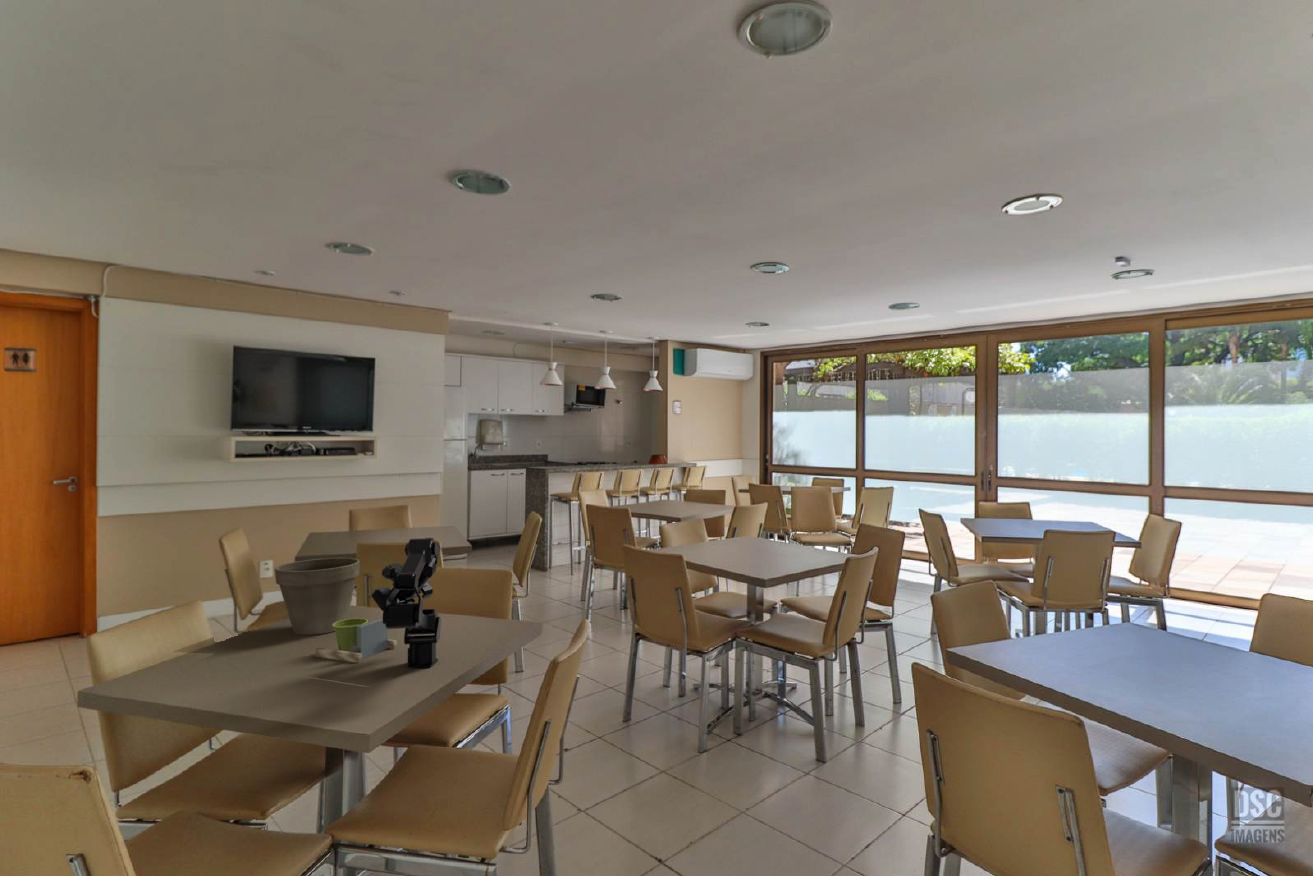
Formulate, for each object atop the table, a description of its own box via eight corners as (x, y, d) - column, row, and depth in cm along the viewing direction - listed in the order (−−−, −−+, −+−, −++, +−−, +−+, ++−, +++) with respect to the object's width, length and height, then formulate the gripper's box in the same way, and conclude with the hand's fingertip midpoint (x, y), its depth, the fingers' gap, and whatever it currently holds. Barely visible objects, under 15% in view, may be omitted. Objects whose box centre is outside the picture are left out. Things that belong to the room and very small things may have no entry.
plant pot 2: (358, 657, 187) (358, 626, 187) (326, 657, 187) (326, 626, 187) (373, 647, 196) (373, 618, 196) (342, 647, 196) (342, 618, 196)
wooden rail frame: (397, 648, 194) (397, 640, 194) (358, 663, 181) (358, 654, 181) (355, 643, 200) (355, 635, 200) (315, 657, 187) (315, 648, 187)
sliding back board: (387, 649, 193) (387, 618, 193) (360, 659, 183) (360, 627, 184) (377, 648, 194) (377, 617, 194) (350, 658, 185) (350, 626, 185)
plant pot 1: (255, 638, 206) (256, 569, 206) (308, 618, 230) (308, 556, 230) (329, 641, 202) (329, 571, 202) (374, 620, 226) (374, 557, 227)
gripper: (424, 549, 194) (395, 584, 198) (376, 560, 176) (345, 598, 180) (446, 578, 191) (416, 613, 195) (400, 591, 173) (367, 629, 177)
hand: (387, 612), depth 187 cm, fingers closed
